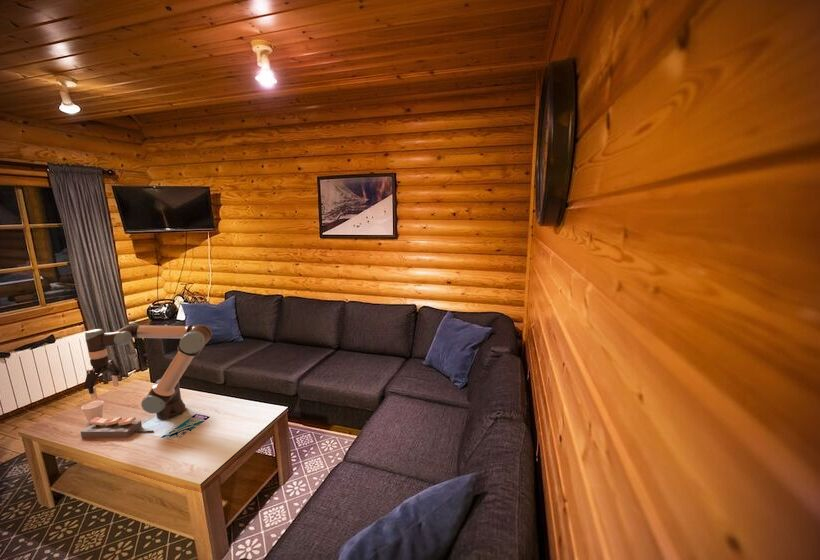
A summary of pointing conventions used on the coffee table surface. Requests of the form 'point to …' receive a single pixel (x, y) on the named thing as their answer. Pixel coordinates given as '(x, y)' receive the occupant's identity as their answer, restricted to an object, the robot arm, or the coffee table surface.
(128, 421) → the rocker
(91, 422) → the rocker
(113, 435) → the power strip
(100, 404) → the cup
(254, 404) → the coffee table surface
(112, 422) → the rocker
